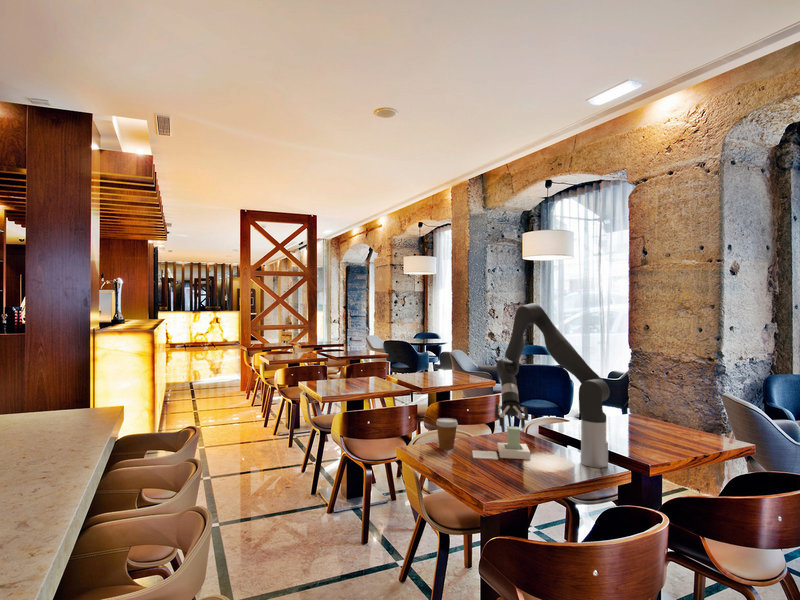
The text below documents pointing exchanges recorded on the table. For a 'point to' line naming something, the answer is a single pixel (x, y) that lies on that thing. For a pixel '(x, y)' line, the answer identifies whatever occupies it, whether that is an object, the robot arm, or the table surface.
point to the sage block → (513, 438)
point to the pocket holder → (513, 451)
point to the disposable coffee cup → (446, 433)
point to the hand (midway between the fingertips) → (512, 427)
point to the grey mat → (485, 455)
